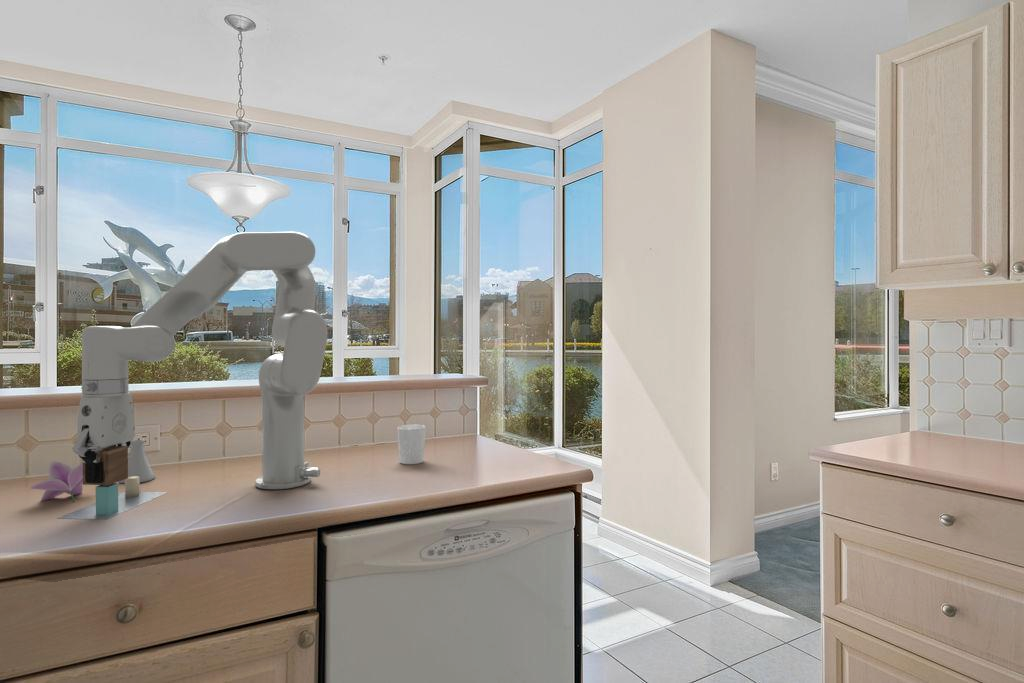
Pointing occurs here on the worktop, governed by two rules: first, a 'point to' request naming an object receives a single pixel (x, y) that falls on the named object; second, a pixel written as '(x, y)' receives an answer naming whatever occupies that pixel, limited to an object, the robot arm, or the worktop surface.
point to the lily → (62, 481)
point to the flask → (139, 462)
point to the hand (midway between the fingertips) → (106, 477)
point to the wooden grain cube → (112, 465)
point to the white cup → (411, 443)
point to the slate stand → (125, 502)
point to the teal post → (107, 499)
